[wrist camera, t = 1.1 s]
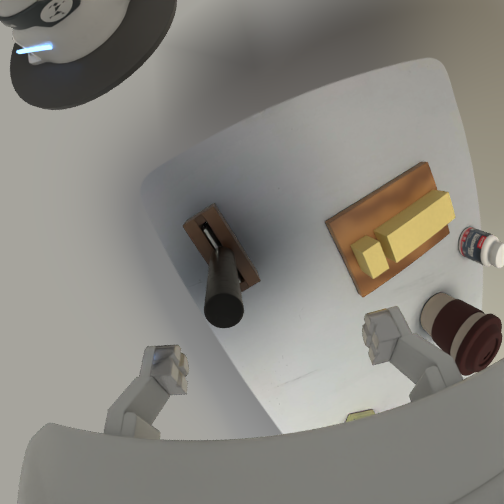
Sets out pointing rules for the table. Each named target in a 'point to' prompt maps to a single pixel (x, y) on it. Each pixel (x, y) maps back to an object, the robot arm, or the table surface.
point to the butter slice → (370, 256)
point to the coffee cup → (462, 332)
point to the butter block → (415, 225)
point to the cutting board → (377, 213)
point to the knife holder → (225, 237)
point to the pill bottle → (481, 247)
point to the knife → (222, 286)
